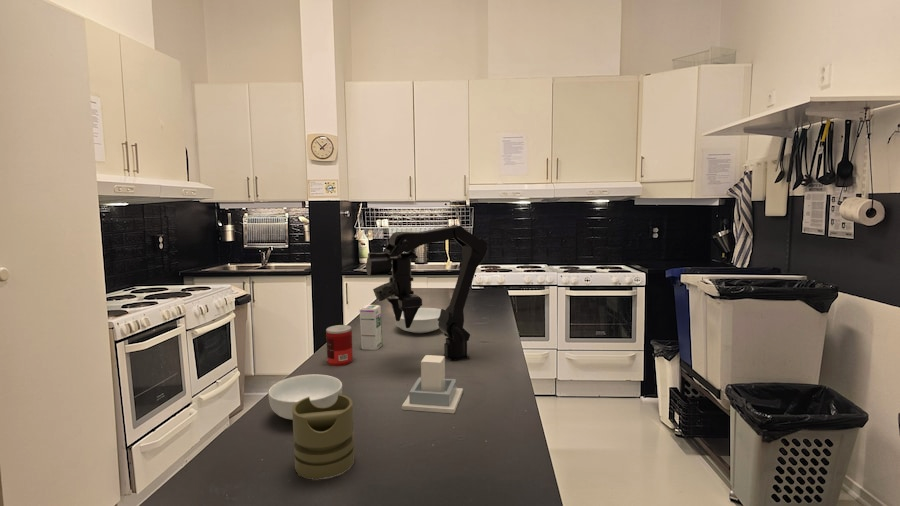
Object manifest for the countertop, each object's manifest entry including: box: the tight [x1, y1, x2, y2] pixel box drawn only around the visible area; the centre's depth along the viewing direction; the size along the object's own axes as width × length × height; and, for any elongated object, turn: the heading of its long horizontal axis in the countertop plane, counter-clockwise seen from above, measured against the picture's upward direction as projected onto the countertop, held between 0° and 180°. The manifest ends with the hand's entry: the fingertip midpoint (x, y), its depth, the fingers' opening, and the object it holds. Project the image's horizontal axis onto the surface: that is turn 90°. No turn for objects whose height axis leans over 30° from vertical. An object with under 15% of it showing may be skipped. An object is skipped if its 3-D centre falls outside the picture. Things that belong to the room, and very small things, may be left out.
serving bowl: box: [392, 307, 442, 334], centre depth 190 cm, size 21×21×7 cm
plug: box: [420, 354, 446, 393], centre depth 124 cm, size 5×5×10 cm
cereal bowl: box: [267, 373, 343, 421], centre depth 117 cm, size 17×17×7 cm
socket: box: [401, 376, 464, 414], centre depth 125 cm, size 13×13×4 cm
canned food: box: [325, 324, 354, 367], centre depth 154 cm, size 8×8×11 cm
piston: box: [292, 394, 355, 479], centre depth 95 cm, size 11×12×11 cm
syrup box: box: [359, 304, 384, 351], centre depth 168 cm, size 6×6×14 cm
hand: (402, 324), depth 149 cm, fingers open, 9 cm apart
